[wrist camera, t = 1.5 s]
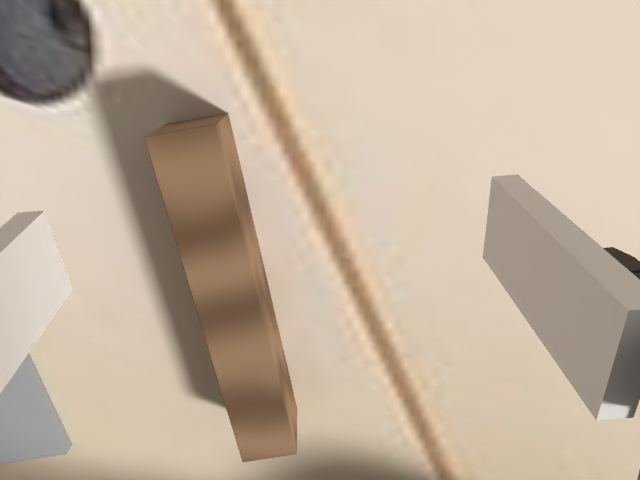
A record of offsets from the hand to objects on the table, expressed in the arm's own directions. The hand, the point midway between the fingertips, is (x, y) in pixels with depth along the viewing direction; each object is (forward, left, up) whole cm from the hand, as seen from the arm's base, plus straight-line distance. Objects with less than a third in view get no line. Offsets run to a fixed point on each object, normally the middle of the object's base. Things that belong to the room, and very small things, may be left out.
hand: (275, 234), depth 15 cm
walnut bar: (-10, +6, -19) cm, 22 cm away
